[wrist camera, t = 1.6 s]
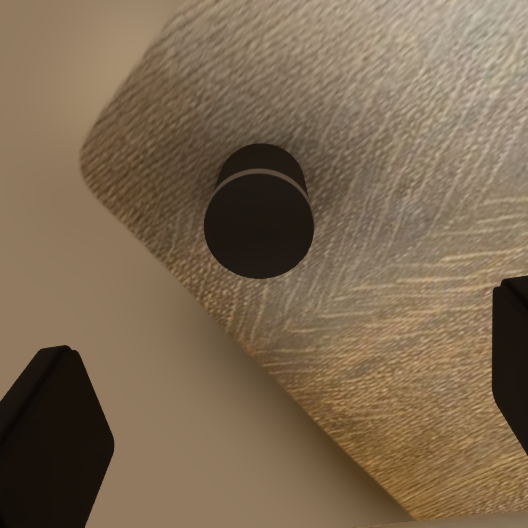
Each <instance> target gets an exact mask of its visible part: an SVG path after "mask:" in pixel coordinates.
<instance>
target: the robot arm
mask: <svg viewBox="0 0 528 528" xmlns="http://www.w3.org/2000/svg"><path fill="white" fill-rule="evenodd" d="M492 392H493V396H494V399H495V402H496V404H497V406H498V408H499V409H500V411H501V413H502V414H503V416H504V417H505V419H506V421H507V422H508V424H509V426H510V427H511V429H512V431H513V432H514V434H515V436H516V437H517V439H518V441H519V442H520V444H521V446H522V447H523V449H524V450H525V452H526V454H527V455H528V275H527V276H521V277H514V278H508V279H503V280H502V282H501V286H499V287H495V288H494V289H493V309H492ZM113 452H114V438H113V435H112V433H111V430H110V428H109V425H108V423H107V420H106V418H105V415H104V413H103V411H102V408H101V406H100V403H99V401H98V398H97V396H96V393H95V391H94V389H93V386H92V384H91V381H90V379H89V376H88V374H87V371H86V369H85V366H84V364H83V361H82V359H81V357H80V355H79V353H78V352H77V351H76V350H72V349H71V348H70V347H69V346H66V345H63V346H56V347H49V348H44V349H40V350H39V351H38V352H37V354H36V355H35V356H34V358H33V359H32V360H31V361H30V363H29V364H28V365H27V367H26V368H25V370H24V371H23V372H22V373H21V375H20V376H19V377H18V379H17V380H16V381H15V383H14V384H13V386H12V387H11V388H10V390H9V391H8V392H7V393H6V395H5V396H4V398H3V399H2V400H1V401H0V528H85V525H86V522H87V520H88V517H89V515H90V512H91V510H92V507H93V504H94V502H95V499H96V497H97V494H98V491H99V489H100V486H101V484H102V481H103V479H104V476H105V474H106V471H107V468H108V466H109V463H110V461H111V458H112V456H113ZM355 528H528V510H526V511H515V512H504V513H492V514H481V515H471V516H462V517H452V518H442V519H432V520H422V521H413V522H403V523H393V524H383V525H374V526H364V527H355Z"/></svg>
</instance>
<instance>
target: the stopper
mask: <svg viewBox="0 0 528 528" xmlns="http://www.w3.org/2000/svg"><path fill="white" fill-rule="evenodd" d="M314 226H315V223H314V214H313V210H312V206H311V203H310V200H309V198H308V193H307V189H306V184H305V180H304V176H303V172H302V170H301V168H300V166H299V164H298V163H297V161H296V160H295V159H294V158H293V157H292V155H290V154H289V153H288V152H287V151H285V150H283V149H281V148H279V147H277V146H274V145H270V144H252V145H248V146H246V147H243V148H241V149H239V150H237V151H236V152H235V153H233V154H232V155H231V156H230V157H229V158H228V159H227V161H226V162H225V163H224V165H223V167H222V169H221V171H220V174H219V177H218V180H217V183H216V185H215V188H214V191H213V194H212V196H211V197H210V199H209V202H208V204H207V207H206V211H205V215H204V234H205V239H206V242H207V245H208V247H209V249H210V251H211V253H212V254H213V256H214V257H215V258H216V260H217V261H218V262H219V263H220V264H221V265H223V266H224V267H225V268H227V269H228V270H229V271H231V272H233V273H235V274H238V275H240V276H243V277H247V278H254V279H265V278H271V277H276V276H279V275H281V274H284V273H286V272H288V271H289V270H291V269H292V268H294V267H295V266H296V265H297V264H298V263H299V262H300V261H301V260H302V259H303V258H304V256H305V255H306V254H307V252H308V250H309V248H310V246H311V243H312V240H313V235H314Z"/></svg>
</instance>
